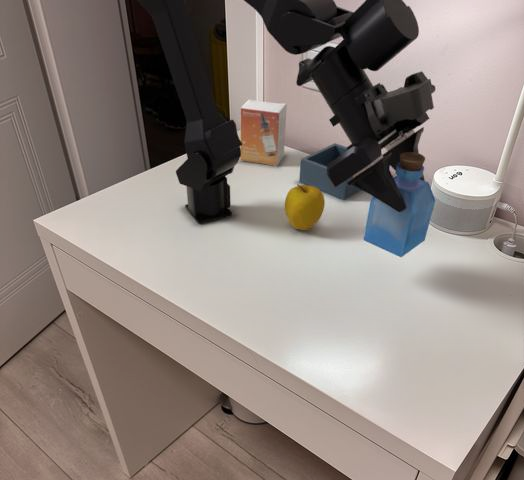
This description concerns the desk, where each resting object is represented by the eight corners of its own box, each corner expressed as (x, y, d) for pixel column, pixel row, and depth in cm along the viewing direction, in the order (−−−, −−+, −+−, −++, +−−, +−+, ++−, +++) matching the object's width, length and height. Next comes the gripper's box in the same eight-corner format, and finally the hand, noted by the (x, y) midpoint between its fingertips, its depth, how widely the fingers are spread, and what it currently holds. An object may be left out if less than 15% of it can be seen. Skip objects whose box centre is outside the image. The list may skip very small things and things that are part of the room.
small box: (239, 161, 109) (239, 107, 102) (248, 150, 113) (248, 98, 106) (277, 166, 108) (279, 112, 100) (284, 155, 111) (287, 102, 104)
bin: (344, 200, 97) (347, 176, 94) (299, 182, 102) (300, 158, 99) (376, 181, 103) (380, 158, 100) (332, 165, 108) (334, 142, 105)
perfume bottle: (424, 240, 76) (446, 157, 67) (401, 257, 72) (421, 172, 64) (387, 224, 79) (404, 143, 70) (363, 240, 75) (378, 156, 67)
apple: (275, 228, 90) (277, 183, 84) (300, 214, 93) (303, 170, 88) (305, 242, 86) (308, 196, 81) (329, 228, 90) (334, 183, 84)
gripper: (364, 70, 55) (439, 199, 58) (431, 36, 67) (491, 145, 70) (294, 130, 64) (363, 239, 67) (364, 90, 75) (421, 185, 78)
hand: (413, 200), depth 70 cm, fingers closed on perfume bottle, 6 cm apart
